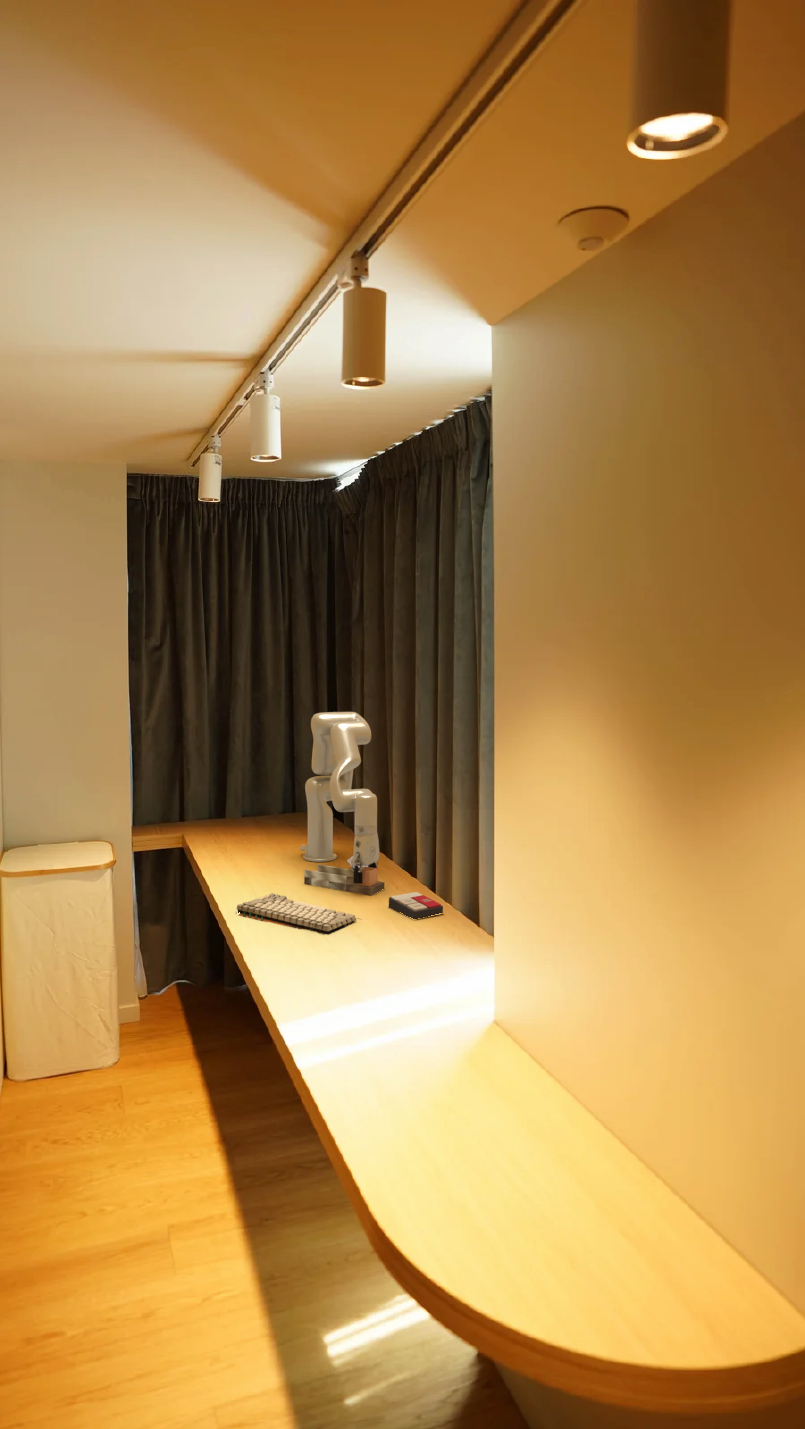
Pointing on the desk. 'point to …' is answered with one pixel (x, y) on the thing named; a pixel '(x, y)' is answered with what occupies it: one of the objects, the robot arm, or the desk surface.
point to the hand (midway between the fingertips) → (365, 879)
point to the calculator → (415, 905)
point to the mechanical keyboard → (295, 914)
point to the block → (369, 876)
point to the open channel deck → (339, 880)
